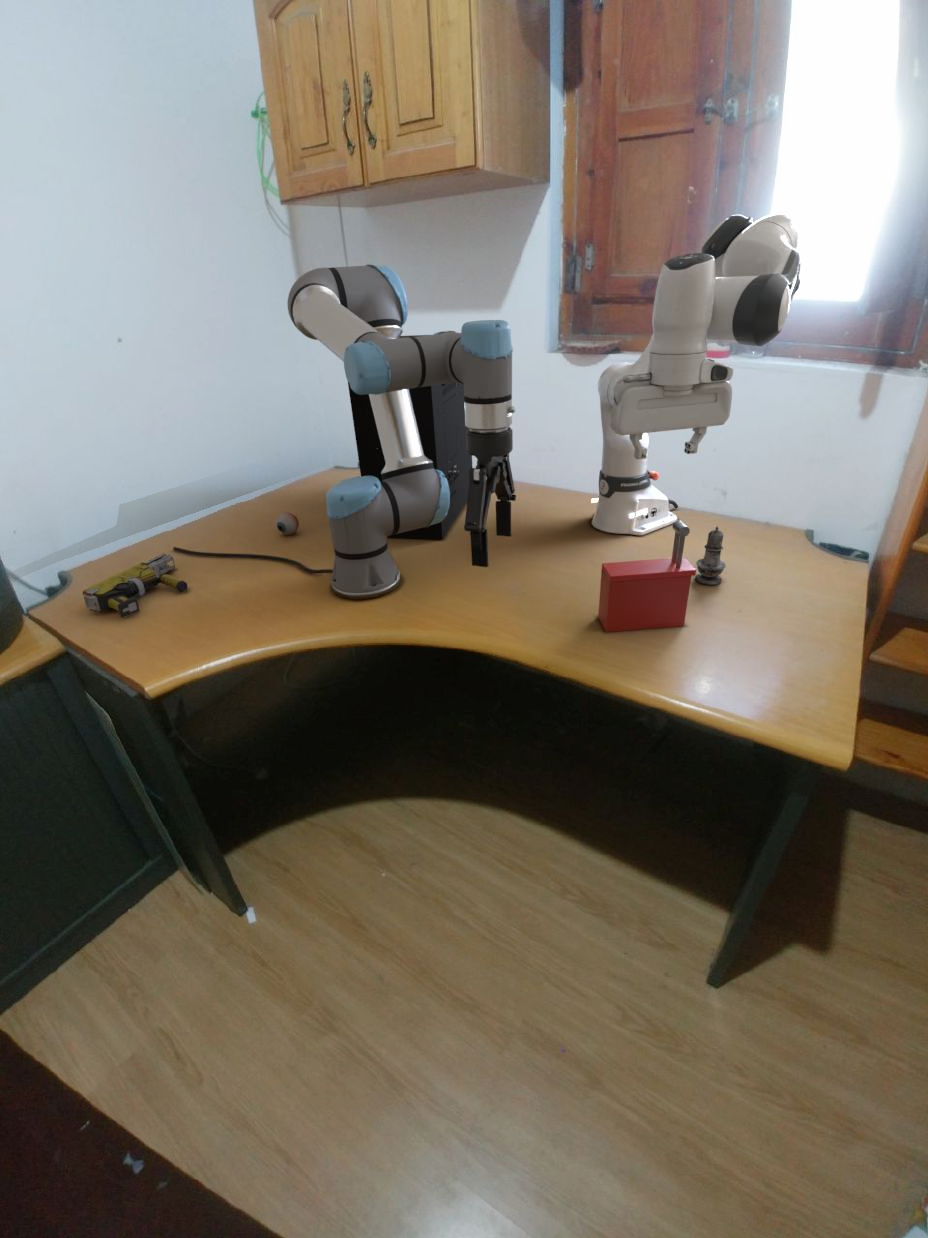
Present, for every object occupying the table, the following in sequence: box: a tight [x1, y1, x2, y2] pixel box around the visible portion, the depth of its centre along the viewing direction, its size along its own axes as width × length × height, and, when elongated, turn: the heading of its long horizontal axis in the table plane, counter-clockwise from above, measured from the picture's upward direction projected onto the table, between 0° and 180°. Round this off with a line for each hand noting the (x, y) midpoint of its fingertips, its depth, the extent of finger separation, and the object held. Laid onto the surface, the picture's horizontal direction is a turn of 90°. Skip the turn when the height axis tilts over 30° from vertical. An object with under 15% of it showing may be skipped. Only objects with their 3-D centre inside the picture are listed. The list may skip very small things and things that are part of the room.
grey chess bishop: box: [695, 526, 727, 586], centre depth 126 cm, size 6×6×12 cm
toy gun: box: [81, 552, 188, 619], centre depth 136 cm, size 5×24×15 cm
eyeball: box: [275, 511, 300, 536], centre depth 163 cm, size 6×6×6 cm
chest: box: [597, 569, 692, 633], centre depth 113 cm, size 15×6×10 cm, turn 94°
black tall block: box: [347, 334, 473, 540], centre depth 163 cm, size 38×20×45 cm, turn 167°
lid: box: [601, 519, 697, 582], centre depth 108 cm, size 16×6×9 cm, turn 94°
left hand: (492, 549), depth 107 cm, fingers open, 13 cm apart
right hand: (665, 455), depth 105 cm, fingers open, 8 cm apart
